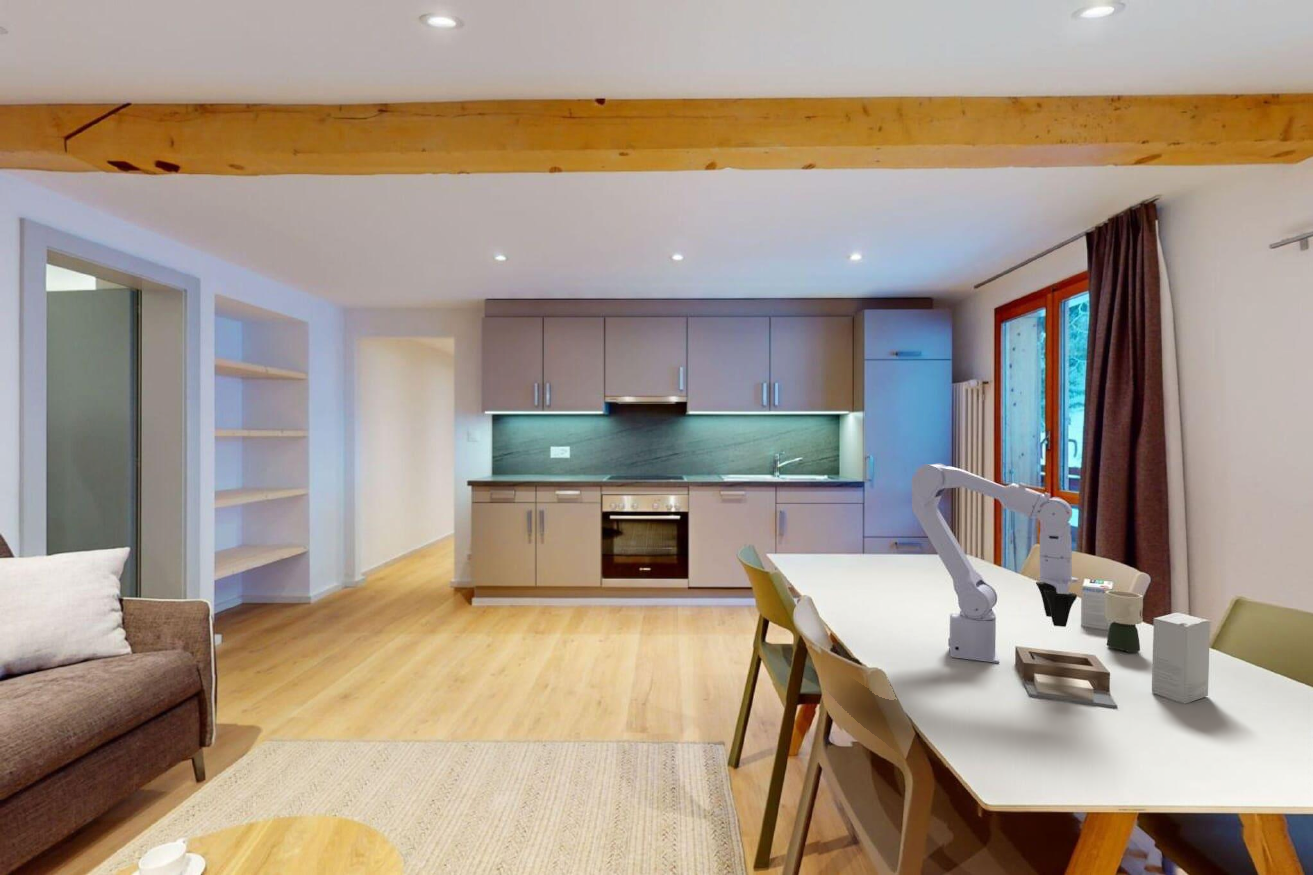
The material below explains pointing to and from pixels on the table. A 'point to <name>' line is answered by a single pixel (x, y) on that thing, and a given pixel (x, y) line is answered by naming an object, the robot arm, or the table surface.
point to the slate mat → (1099, 697)
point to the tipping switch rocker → (1040, 658)
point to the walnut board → (1062, 666)
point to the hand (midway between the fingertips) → (1055, 621)
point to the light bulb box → (1094, 604)
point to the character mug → (1123, 619)
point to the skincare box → (1180, 657)
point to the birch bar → (1063, 686)
